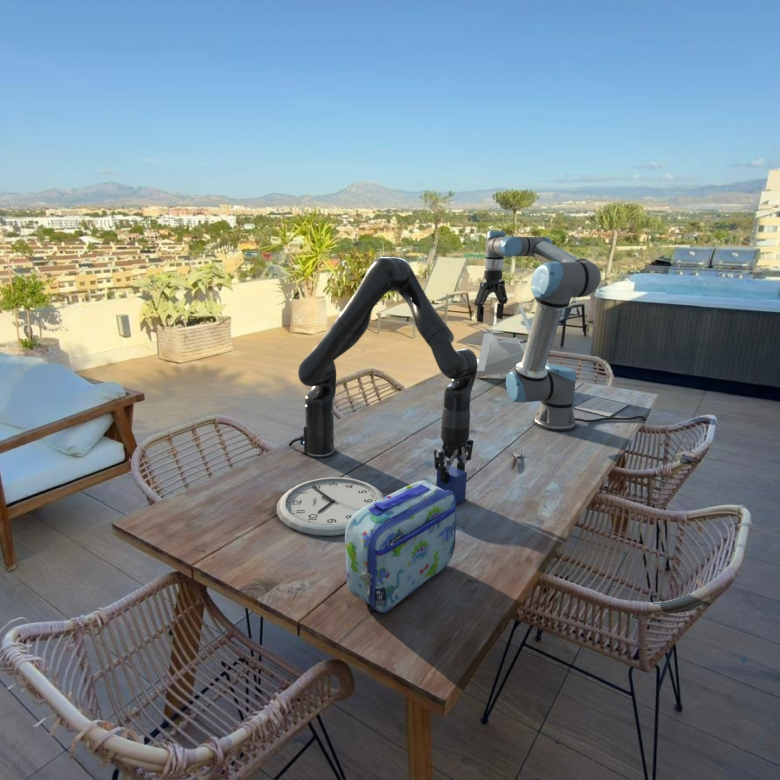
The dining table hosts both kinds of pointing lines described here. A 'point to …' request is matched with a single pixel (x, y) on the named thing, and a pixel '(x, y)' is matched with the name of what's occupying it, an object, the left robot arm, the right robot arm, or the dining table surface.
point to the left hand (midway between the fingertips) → (452, 478)
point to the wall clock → (325, 504)
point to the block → (454, 483)
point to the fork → (516, 456)
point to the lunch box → (399, 543)
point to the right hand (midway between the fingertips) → (489, 320)
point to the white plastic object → (501, 353)
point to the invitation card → (601, 406)
